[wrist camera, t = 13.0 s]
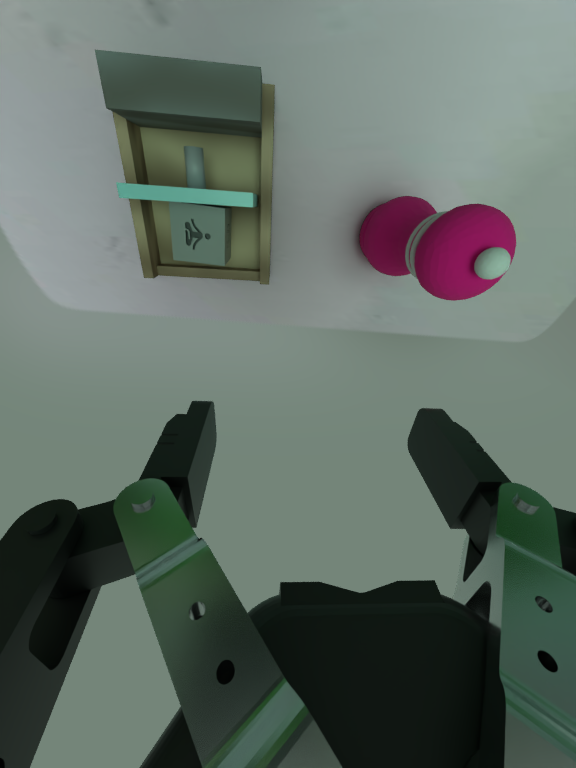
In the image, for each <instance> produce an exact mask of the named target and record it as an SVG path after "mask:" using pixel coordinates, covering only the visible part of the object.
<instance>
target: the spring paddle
mask: <svg viewBox="0 0 576 768" xmlns="http://www.w3.org/2000/svg"><path fill="white" fill-rule="evenodd" d="M184 156H185V166H186V176H187V186H188V188H182V187H169V186H155V185H142V184H129V183H116V184H117V188H118V193H119V198H130V199H144V200H158V201H171V202H185V203H199V204H213V205H226V206H240V207H258V195H256V194H254V193H247V192H234V191H221V190H208V189H206V182H205V168H204V154H203V148H200V147H195V146H184Z"/></svg>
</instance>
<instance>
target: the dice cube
mask: <svg viewBox="0 0 576 768" xmlns="http://www.w3.org/2000/svg"><path fill="white" fill-rule="evenodd" d="M169 211H170V223H171V236H172V249H173V260H179V261H187V262H195V263H204V264H212V265H220V266H225V265H226V264H227V262H228V261H229V260H230V258H231V219H232V208H230V207H223V206H216V205H209V204H199V203H185V202H171V201H169Z"/></svg>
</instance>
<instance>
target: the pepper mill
mask: <svg viewBox="0 0 576 768" xmlns="http://www.w3.org/2000/svg"><path fill="white" fill-rule="evenodd" d="M360 246H361V249H362V251H363V253H364V255H365V256H366V257H367V259H368V261H369V262H370V264H371V265H372V266H373V267H374V268H375V269H376V270H378V271H379V272H381V273H384V274H387V275H391V276H402V275H407V274H410V273H411V274H412V275H413V276H414V277H416V278H417V279H418V280H419V283H420V285H421V286H422V287H423V288H424V289H425V290H426V291H427V292H429V293H430V294H432V295H433V296H436V297H438V298H441V299H445V300H463V299H468V298H471V297H474V296H477V295H479V294H481V293H483V292H484V291H486V290H488V289H489V288H491V287H492V286H493V285H494V284H495V283H497V282H498V281H499V280H500V278H501V277H502V276H503V275H504V274H505V273H506V271H507V269H508V268H509V266H510V264H511V262H512V259H513V257H514V253H515V247H516V235H515V231H514V227H513V225H512V223H511V221H510V219H509V218H508V217H507V216H506V215H505V214H504V213H503V212H501V211H500V210H498V209H496V208H494V207H491V206H487V205H482V204H469V205H464V206H459V207H456V208H454V209H452V210H450V211H448V212H439V213H437V212H436V211H435V209H434V208H433V207H432V206H431V205H430V204H429V203H428V202H427V201H425V200H423V199H421V198H417V197H411V196H403V197H398V198H395V199H392V200H390V201H388V202H387V203H384V204H381V205H380V206H378V207H376V208H375V209H374V210H372V211H371V212H370V213H369V214H368V216H367V217H366V219H365V220H364V222H363V224H362V227H361V231H360Z"/></svg>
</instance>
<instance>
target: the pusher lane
mask: <svg viewBox="0 0 576 768" xmlns="http://www.w3.org/2000/svg"><path fill="white" fill-rule="evenodd" d="M95 53H96V58H97V63H98V68H99V73H100V78H101V84H102V89H103V94H104V99H105V104H106V108H107V109H109V110H111V111H112V112H113V117H114V122H115V127H116V133H117V138H118V143H119V148H120V154H121V159H122V164H123V169H124V175H125V180H126V183H129V184H142V185H155V186H169V187H182V188H188V186H187V176H186V166H185V156H184V146H195V147H200V148H203V154H204V168H205V182H206V189H208V190H221V191H234V192H247V193H254V194H256V195H258V207H240V206H226V205H216V206H223V207H230V208H232V219H231V258H230V260H229V261H228V262H227V264H226V265H225V266H220V265H212V264H204V263H195V262H187V261H179V260H173V249H172V236H171V223H170V211H169V201H158V200H144V199H130V198H129V201H130V206H131V212H132V217H133V222H134V227H135V233H136V238H137V243H138V249H139V254H140V259H141V264H142V270H143V275H144V278H155V277H156V276H158V275H162V276H180V277H198V278H216V279H234V280H252V281H260V284H268V285H269V276H270V240H271V204H272V169H273V133H274V94H275V85H271V84H262V75H261V67H254V66H245V65H235V64H226V63H216V62H207V61H197V60H188V59H178V58H169V57H159V56H150V55H140V54H131V53H121V52H112V51H102V50H95ZM209 205H213V204H209Z"/></svg>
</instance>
